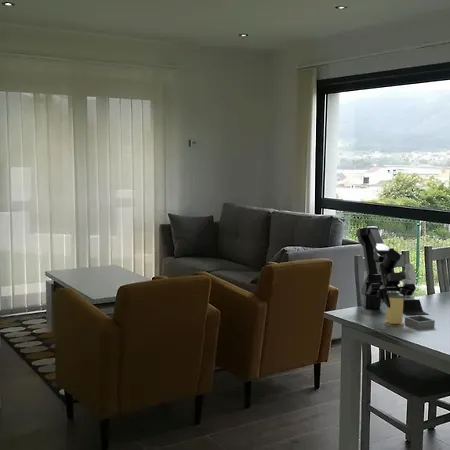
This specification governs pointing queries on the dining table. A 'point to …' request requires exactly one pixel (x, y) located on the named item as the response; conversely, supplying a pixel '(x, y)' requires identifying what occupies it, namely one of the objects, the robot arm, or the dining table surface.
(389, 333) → the dining table surface
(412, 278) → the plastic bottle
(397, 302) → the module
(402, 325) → the pad
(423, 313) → the black wedge stand
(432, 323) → the case
